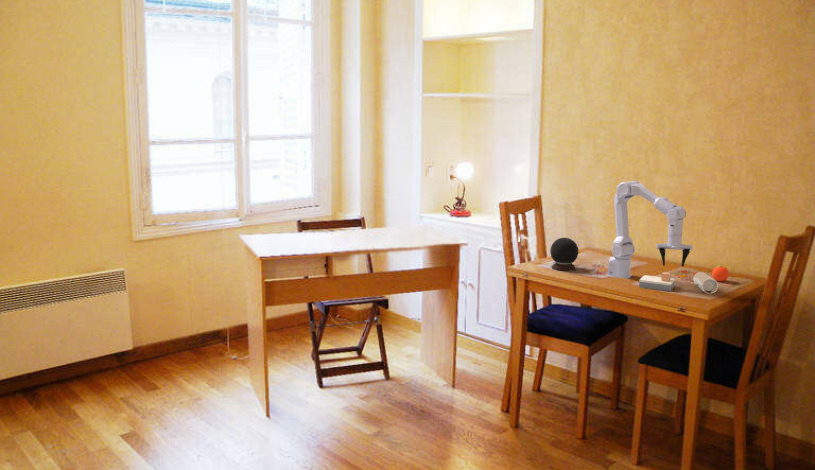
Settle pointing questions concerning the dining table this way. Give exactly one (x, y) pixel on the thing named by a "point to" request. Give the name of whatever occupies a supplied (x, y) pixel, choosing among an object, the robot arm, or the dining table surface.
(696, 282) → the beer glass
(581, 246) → the dining table surface
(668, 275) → the lid
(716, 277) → the clementine
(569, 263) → the black ball on stand
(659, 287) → the tub
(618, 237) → the robot arm
